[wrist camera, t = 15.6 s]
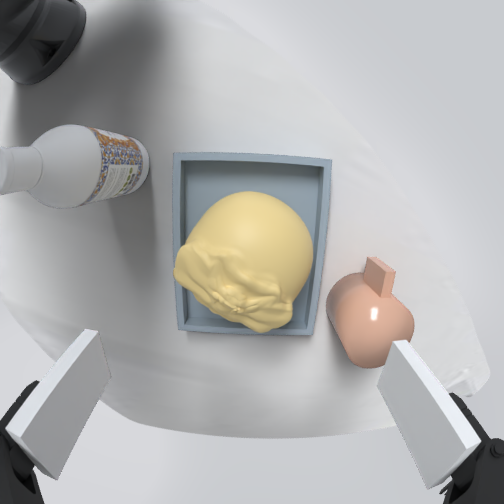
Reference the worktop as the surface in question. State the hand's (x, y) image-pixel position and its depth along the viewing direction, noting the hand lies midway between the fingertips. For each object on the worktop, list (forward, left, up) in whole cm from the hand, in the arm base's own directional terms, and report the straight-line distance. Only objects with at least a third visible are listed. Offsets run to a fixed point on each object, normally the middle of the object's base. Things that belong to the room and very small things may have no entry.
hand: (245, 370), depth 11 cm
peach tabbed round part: (+6, +14, -22) cm, 27 cm away
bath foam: (-9, -15, -22) cm, 28 cm away
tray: (0, 0, -22) cm, 22 cm away
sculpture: (0, 0, -21) cm, 21 cm away
